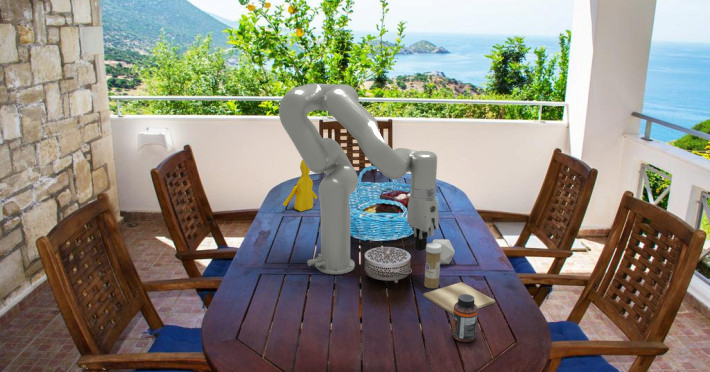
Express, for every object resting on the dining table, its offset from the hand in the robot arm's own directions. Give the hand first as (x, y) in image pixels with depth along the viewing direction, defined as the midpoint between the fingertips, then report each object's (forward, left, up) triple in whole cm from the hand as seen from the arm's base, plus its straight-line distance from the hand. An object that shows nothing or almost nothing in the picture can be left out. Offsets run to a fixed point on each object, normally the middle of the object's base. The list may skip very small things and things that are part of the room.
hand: (420, 249), depth 178 cm
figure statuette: (0, +78, -10) cm, 78 cm away
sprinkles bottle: (0, -6, -10) cm, 12 cm away
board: (+1, -17, -10) cm, 20 cm away
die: (+14, +6, -10) cm, 18 cm away
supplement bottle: (-12, -33, -10) cm, 37 cm away
